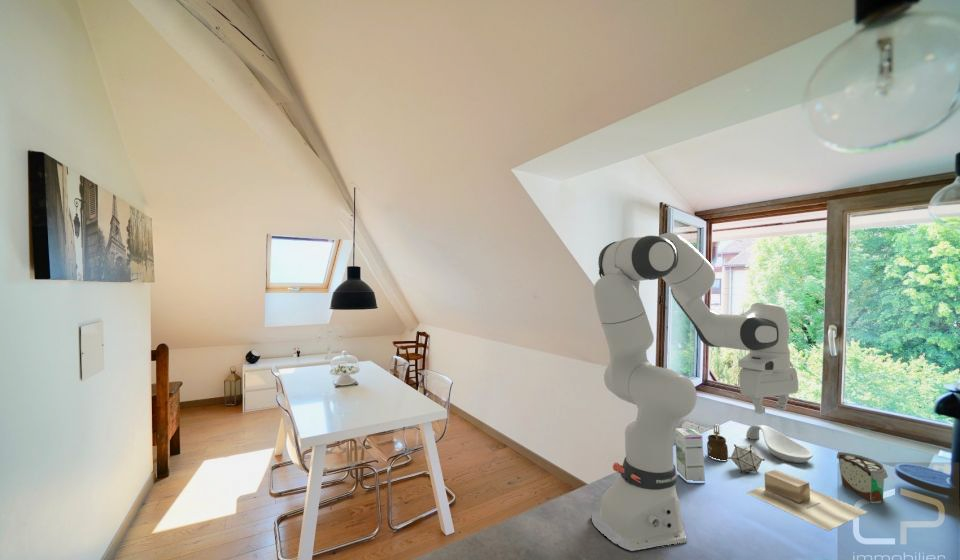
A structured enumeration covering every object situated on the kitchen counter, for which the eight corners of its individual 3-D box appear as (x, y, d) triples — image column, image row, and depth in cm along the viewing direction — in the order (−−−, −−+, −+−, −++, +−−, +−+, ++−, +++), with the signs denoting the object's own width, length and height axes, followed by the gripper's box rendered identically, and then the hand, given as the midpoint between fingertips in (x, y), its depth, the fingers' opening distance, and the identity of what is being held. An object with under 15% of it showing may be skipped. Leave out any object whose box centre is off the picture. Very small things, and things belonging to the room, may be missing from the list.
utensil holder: (727, 456, 125) (725, 421, 125) (728, 463, 119) (726, 427, 120) (707, 452, 128) (705, 418, 128) (707, 459, 123) (705, 424, 123)
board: (828, 536, 83) (827, 530, 84) (746, 496, 100) (745, 492, 100) (868, 516, 90) (868, 511, 90) (785, 482, 107) (785, 478, 107)
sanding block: (799, 504, 94) (798, 486, 94) (765, 489, 101) (764, 473, 102) (810, 499, 96) (809, 482, 96) (776, 485, 103) (775, 469, 104)
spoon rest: (823, 467, 116) (821, 444, 117) (786, 468, 116) (784, 445, 117) (766, 438, 140) (765, 419, 140) (735, 439, 140) (734, 420, 140)
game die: (753, 486, 112) (765, 470, 106) (722, 469, 117) (731, 453, 111) (759, 464, 117) (770, 447, 112) (729, 449, 122) (738, 432, 117)
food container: (904, 513, 91) (901, 473, 92) (875, 510, 93) (873, 471, 93) (863, 487, 103) (861, 452, 104) (838, 486, 105) (836, 450, 105)
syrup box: (706, 483, 107) (703, 434, 108) (686, 484, 107) (683, 434, 108) (695, 474, 113) (692, 427, 114) (676, 474, 113) (673, 427, 114)
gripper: (779, 357, 108) (780, 404, 107) (734, 361, 100) (735, 411, 99) (804, 361, 102) (806, 411, 101) (758, 365, 94) (760, 418, 93)
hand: (770, 411), depth 100 cm, fingers open, 8 cm apart
